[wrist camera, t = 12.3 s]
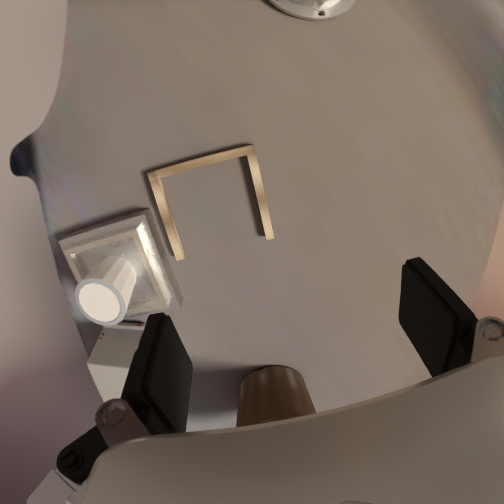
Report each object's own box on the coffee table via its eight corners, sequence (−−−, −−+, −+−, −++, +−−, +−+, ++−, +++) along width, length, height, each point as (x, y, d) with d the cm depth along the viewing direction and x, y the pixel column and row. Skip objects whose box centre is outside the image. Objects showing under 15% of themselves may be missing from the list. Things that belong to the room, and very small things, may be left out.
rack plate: (66, 234, 38) (54, 244, 35) (149, 207, 38) (142, 217, 34) (103, 312, 44) (95, 327, 41) (183, 297, 44) (179, 313, 40)
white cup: (97, 244, 37) (75, 270, 31) (144, 260, 38) (129, 289, 32) (92, 286, 39) (73, 315, 33) (136, 301, 41) (122, 333, 35)
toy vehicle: (125, 387, 53) (114, 427, 44) (101, 317, 45) (80, 359, 36) (168, 391, 53) (161, 433, 44) (152, 320, 46) (137, 365, 37)
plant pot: (329, 360, 51) (353, 434, 37) (299, 412, 58) (311, 477, 43) (238, 350, 49) (241, 433, 34) (221, 405, 55) (221, 476, 41)
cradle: (149, 171, 36) (147, 173, 35) (253, 144, 35) (253, 145, 34) (178, 256, 41) (176, 260, 40) (273, 234, 40) (274, 238, 39)
